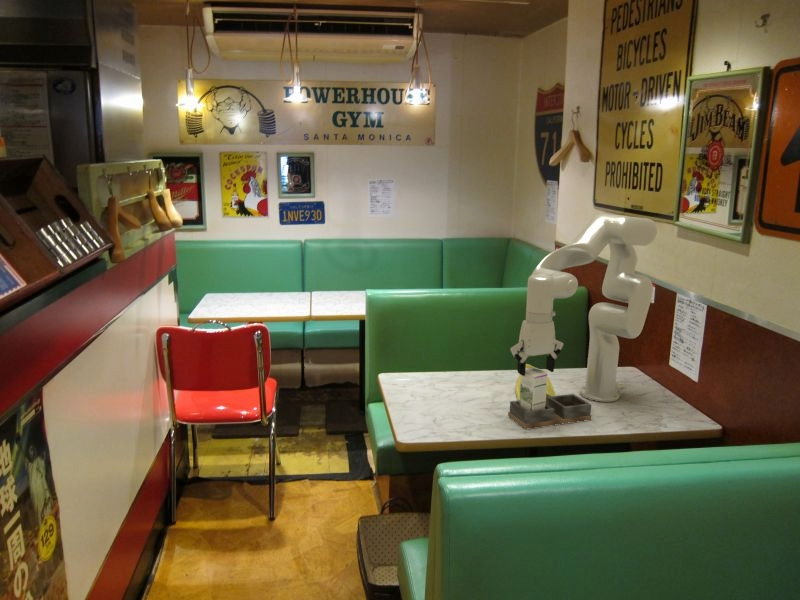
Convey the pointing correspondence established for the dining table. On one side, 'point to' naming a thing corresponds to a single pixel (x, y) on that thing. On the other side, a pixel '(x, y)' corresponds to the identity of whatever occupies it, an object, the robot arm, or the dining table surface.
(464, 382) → the dining table surface
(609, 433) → the dining table surface
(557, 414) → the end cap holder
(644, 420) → the dining table surface
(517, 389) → the plastic component
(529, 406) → the syrup box
